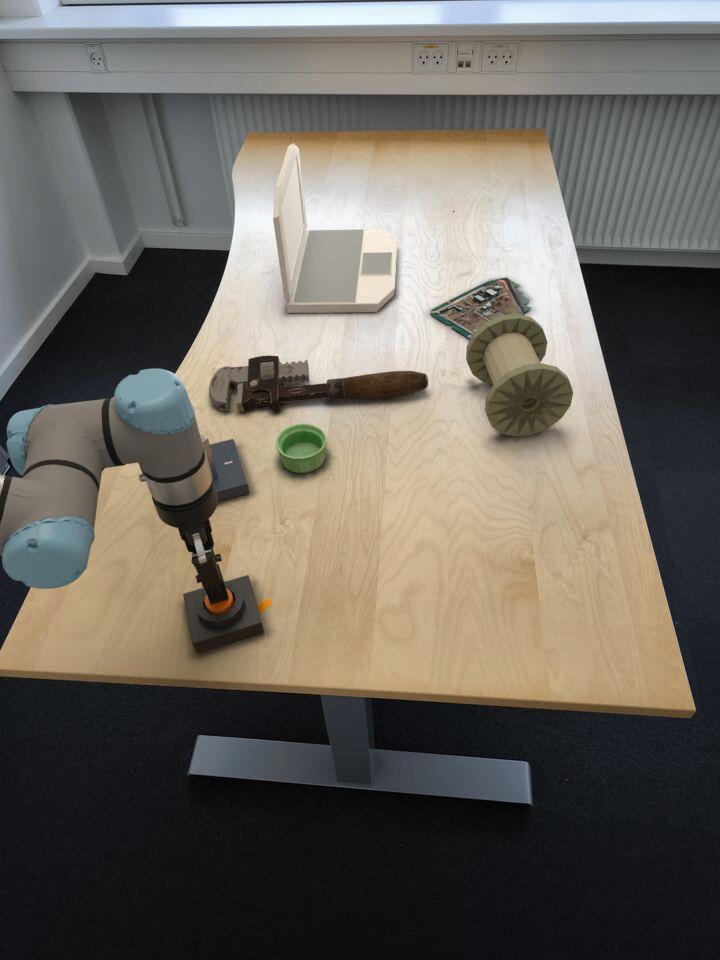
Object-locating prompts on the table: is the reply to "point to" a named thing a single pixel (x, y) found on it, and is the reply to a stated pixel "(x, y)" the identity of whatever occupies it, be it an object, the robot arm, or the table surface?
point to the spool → (518, 375)
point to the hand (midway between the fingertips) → (218, 597)
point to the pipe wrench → (268, 374)
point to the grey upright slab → (209, 456)
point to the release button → (220, 605)
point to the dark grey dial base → (228, 471)
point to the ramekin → (302, 447)
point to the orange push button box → (223, 617)
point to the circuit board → (481, 305)
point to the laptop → (328, 255)
